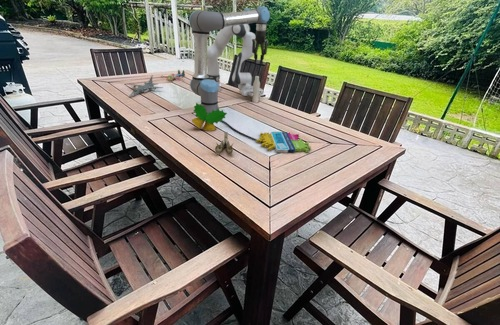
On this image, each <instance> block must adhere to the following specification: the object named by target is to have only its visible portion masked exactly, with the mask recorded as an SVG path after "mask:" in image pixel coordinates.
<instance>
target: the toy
mask: <svg viewBox="0 0 500 325" xmlns="http://www.w3.org/2000/svg"><path fill="white" fill-rule="evenodd" d="M185 76H186V73H185V70H182V72H181V70H180V69H178V70H177V74H176V73H171V74H169V75H168V76H163V75H160V78H161V79H162V78H163V79H164V78H165V79H166V81H169V82H171V81H173V80H180V81H185V78H184V77H185ZM180 77H181V78H180Z"/></svg>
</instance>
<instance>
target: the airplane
mask: <svg viewBox="0 0 500 325" xmlns="http://www.w3.org/2000/svg"><path fill="white" fill-rule="evenodd" d="M153 78H154V75H153V74H151V76H150V78H149V80H148V81H147V82H146V81H144V82H143V85H142V84H134V83H129V84H128V85H130V86H132V87H131V89H133V91H132V92H131V93H130V94H129V95H128V96H127V98H129V97H130V98H131V97H135V96H137V95H139V94H141V93H148V92H150V91H151V90H152V92H154V91H156V90H157V89H163V88H164V87H162V86H157V85H158V83H154V82H153ZM155 85H156V86H155Z"/></svg>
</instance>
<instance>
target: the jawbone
mask: <svg viewBox="0 0 500 325" xmlns="http://www.w3.org/2000/svg"><path fill="white" fill-rule="evenodd" d="M223 135H224V136H223V140H222V139H221V142H220V144H218V142H215V144H216V146H215V148H214V149H215V152H214V154H215V155H217V156H218V155H220V153H221V152H223V151H224V150H226V152H227V153H228V155H229V156H233V155H234V154H233V153H234V148H233V144H234V143H230V140H228V139H229V138H228V137H229V136H228V135H229V133H228V131H226V132H224V134H223Z"/></svg>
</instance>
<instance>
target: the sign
mask: <svg viewBox="0 0 500 325" xmlns="http://www.w3.org/2000/svg"><path fill="white" fill-rule="evenodd" d="M299 136H300V135H299V134H298V133H296V134H294V133H291V132H287V131H270V132H264V133H263V132H260V133H259V139H258V138H256V139H257V141H255V142H256V143H257V144H261V148H263V147H264V148H265V149H267V151H268V152H271V151H272V150H273V149H275V152H276V153H283V154H285V153H287V154H288V153H290V154H293V153H296V152H298V153H301V152H305V153H310V151H311V150H312V149H311V148H312V146H309V142H304V141H303V139H302V138H299ZM260 142H263V143H260Z"/></svg>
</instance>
